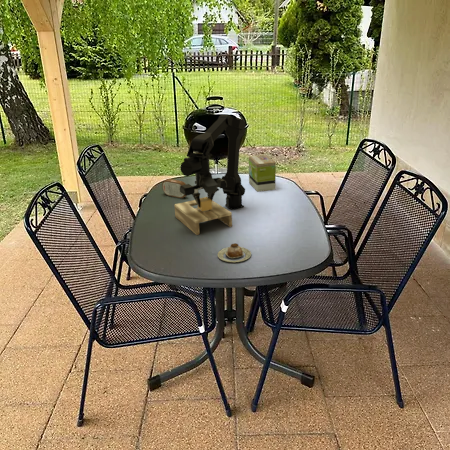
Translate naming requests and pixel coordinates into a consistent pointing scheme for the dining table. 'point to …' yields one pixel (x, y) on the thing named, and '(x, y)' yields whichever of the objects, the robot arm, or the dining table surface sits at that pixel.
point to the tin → (173, 188)
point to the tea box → (262, 173)
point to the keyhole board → (200, 215)
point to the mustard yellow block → (205, 204)
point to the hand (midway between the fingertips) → (204, 206)
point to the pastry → (234, 253)
